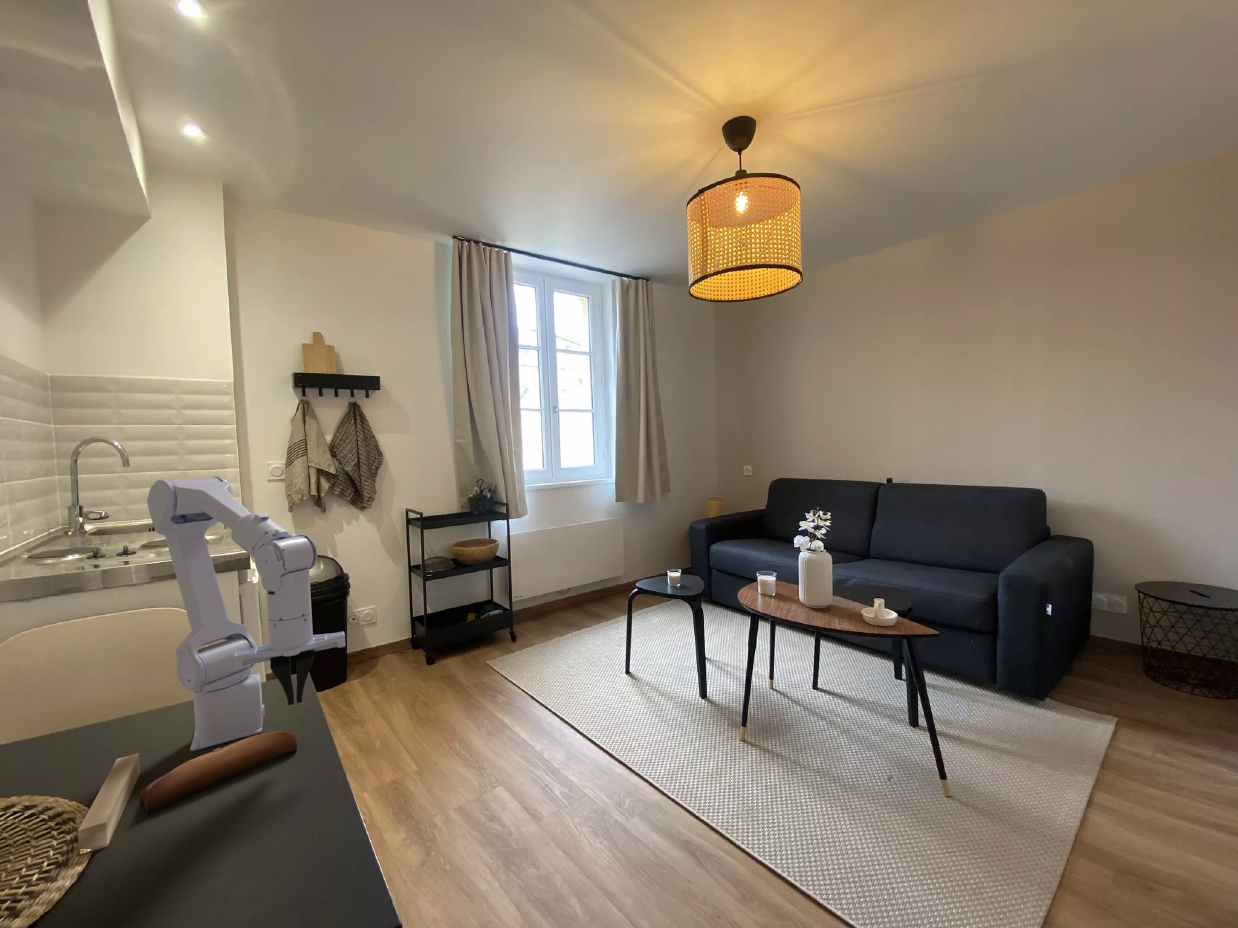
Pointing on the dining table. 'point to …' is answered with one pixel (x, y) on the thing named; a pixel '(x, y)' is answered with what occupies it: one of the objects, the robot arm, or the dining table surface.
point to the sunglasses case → (216, 767)
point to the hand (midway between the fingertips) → (295, 701)
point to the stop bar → (109, 804)
